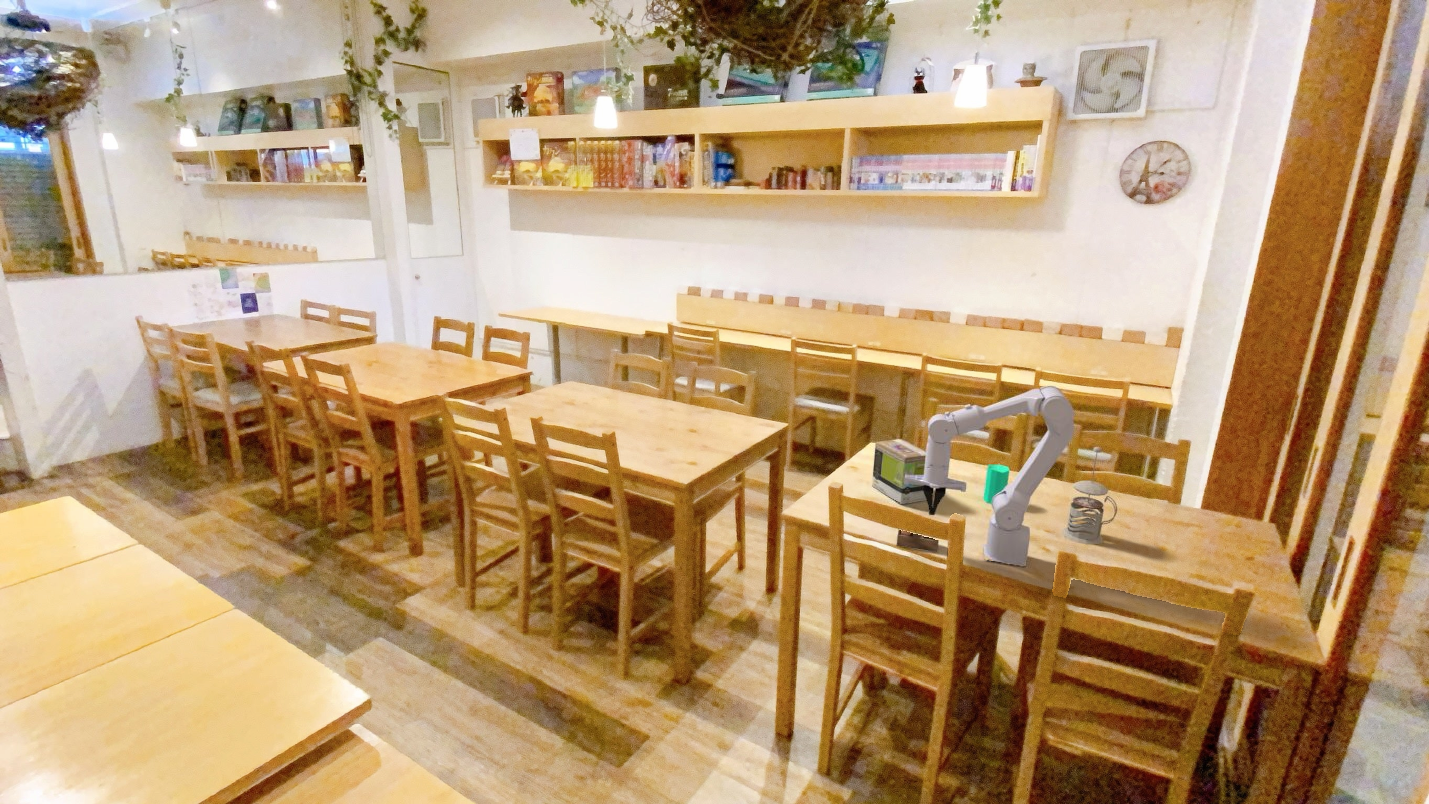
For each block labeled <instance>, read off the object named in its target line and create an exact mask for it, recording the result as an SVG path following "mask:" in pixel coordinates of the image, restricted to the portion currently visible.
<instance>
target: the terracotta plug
mask: <svg viewBox="0 0 1429 804" xmlns="http://www.w3.org/2000/svg"><path fill="white" fill-rule="evenodd" d="M901 535H906V536H911V533H910V532H907V531H903V530H902V531H901Z"/></svg>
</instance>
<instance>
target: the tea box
mask: <svg viewBox="0 0 1429 804" xmlns="http://www.w3.org/2000/svg"><path fill="white" fill-rule="evenodd" d="M874 445H875V446H874V456H873V457H874V459H873V470H872V480H871V481H872V483H871V486H872V487H873V488H875V489H876V490H878V491H880V492H881V493H882V494H884V495H885V496H887V497H889V498H890V499H892V500H893V499H894V500H893V501H895V500H896V501H898V502H900V504H899V505H905V503H907V504H913V503H918V502H917V501H919V502H924V501H927V500H926V497H925V495H924V492H923V486H922V485H914V484H909V485H906V484H904V483H905V475H924V468H925V457H926V449H925V450H924V449H923V448H920V447H918V446H916V445H914V444H912V443H911V442H908V441H906V440H905V439H902V438H897V439H892V440H891V439H890V440H882V441H875V444H874ZM896 501H895V502H896ZM898 502H897V503H898ZM912 502H913V503H912Z"/></svg>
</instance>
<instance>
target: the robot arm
mask: <svg viewBox="0 0 1429 804" xmlns="http://www.w3.org/2000/svg"><path fill="white" fill-rule="evenodd" d="M1021 413H1023V414H1028V415H1030V416H1033V417H1037V418H1038V417H1039V413H1040V414H1041V416H1042V417H1043V419H1044V422H1045V424H1046V427H1047V431H1046V432H1045V433H1044V435H1043V436H1042V438H1041V440H1040V441H1039V442H1038V444H1037V446H1036V447H1035V449H1034V450H1033V451H1032V453H1031V454H1030V455H1029V458H1028V459H1027V460H1026V462H1025V463H1024V465H1023V466H1022V467H1021V469H1020V471H1019V472H1018V473H1017V474H1016V476H1015V478H1014V479H1013V481H1012V482H1011V483H1009V484H1007V486H1006V487H1005V488H1004V489H1003V490H1002V491H1001V492H999V493H997V494H996V495H995V496H994V497H993V499H992V503H991V504H990V505H991V507H992V509H993V514H992V515H991V516H990V517H989V522H988V523H989V524H988V530H987V531H988V532H987V538H986V544H982V545H983V546H982V547H983V548H982V549H984V551H983V556H984V555H985V556H988V557H990V558H992V559H988V560H993V561H997V562H1002V563H1001V564H1004V563H1009V564H1008V565H1010V564H1014V565H1013V566H1016V565H1021V566H1020V567H1023V566H1026V567H1027V558H1028V554H1029V545H1030V539H1031V538H1030V537H1031V531H1030V526H1028V525H1024V524H1023V522H1024V520H1025V519H1024V518H1025V513H1026V512H1027V510H1028V509H1029V505H1030V501H1031V497H1032V496H1033V494H1034V493H1035V491H1036V490H1037V489H1038V488H1039V486H1040V484H1041V482H1042V481H1043V480H1044V478H1045V477H1046V475H1047V474H1048V472H1049V471H1050V470H1051V469H1052V467H1053V466H1054V465H1055V463H1056V462H1057V460H1058V459H1059V457H1060V456H1061V454H1062V453H1063V452H1064V450H1065V449H1066V448H1067V445H1068V444H1069V443H1070V442H1071V440H1072V439H1073V437H1074V432H1075V431H1074V428H1075V427H1074V417H1075V413H1076V412H1075V411H1074V409H1073V406H1072V403H1071V402H1070V400H1069V398H1066V396H1065V395H1064V393H1063V392H1062V390H1061V389H1060V388H1058V387H1056V386H1054V385H1046V386H1042V387H1040V388H1032V389H1029V390H1028V391H1026V392H1023V393H1020V394H1018V395H1015V396H1013V397H1010V398H1006V399H1003V400H1000V401H999V402H996V403H993V404H991V405H987V406H985V407H982V406H979V405H977V404H974V405H971V404H970V403H969V404H966V405H964V408H961V409H958V410H955V411H952V412H950V411H945V412H944V414H943V413H939V414H938V413H937V414H935V415H933V416H931V418H930V419H929V420H928V422H927V429H928V430H927V431H928V436H927V443H926V448H925V451H926V457H925V468H924V475H905V483H904V484H906V485H909V484H914V485H922V486H923V492H924V495H925V497H926V500H925V501H926V502H927V507H928V515H929V516H935V515H936V512H937V509H938V506H939V504H940V503H941V501H942V499H943V498H944V497H945V495H946V490H952V491H953V490H955V491H960V492H964V493H966V492H967V491H966V490H967V481H961V480H957V479H953V478H950V477H949V471H950V462H951V451H952V446H951V441H952V439H953V438H954V437H955V436H961V435H963V434H967V433H970V432H974V431H977V430H980V429H983V428H984V429H985V426H986V424H987V423H988V422H989V421H994V420H997V419H1001V418H1005V417H1010V416H1013V415H1017V414H1021ZM997 562H996V563H997Z"/></svg>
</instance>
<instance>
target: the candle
mask: <svg viewBox="0 0 1429 804" xmlns="http://www.w3.org/2000/svg"><path fill="white" fill-rule="evenodd" d="M1009 476H1010V468H1009V467H1008V466H1007V465H1003V464H988V465H987V468H986V476H985V483H984V490H983V496H982V497H983V498H982V499H983V501H984V502H986V504H990V505H992V504H991V503H992V499H993V497H994V496H995V495H996V494H997V493H999V492H1001V491H1002V490H1003V489H1004V488H1005V487H1006V486H1007V485H1009V484H1008V483H1009Z"/></svg>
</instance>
